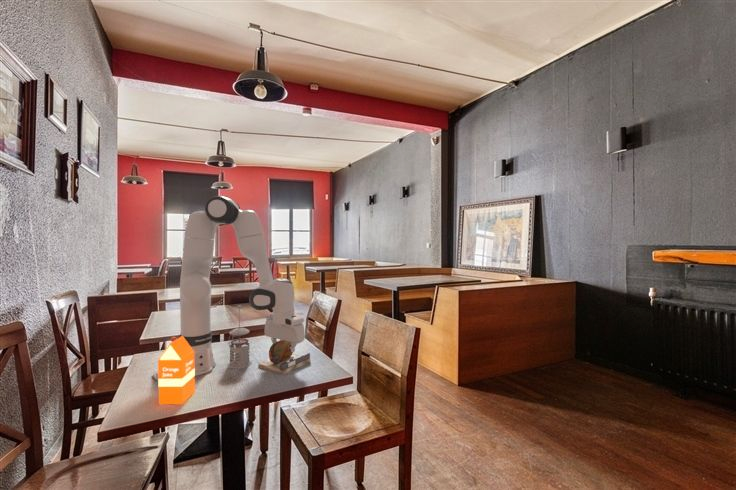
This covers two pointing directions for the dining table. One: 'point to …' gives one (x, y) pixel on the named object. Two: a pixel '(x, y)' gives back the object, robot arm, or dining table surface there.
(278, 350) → the oval plaque
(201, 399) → the dining table surface
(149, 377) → the dining table surface
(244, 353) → the french press
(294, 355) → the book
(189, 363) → the orange juice
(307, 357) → the price rail
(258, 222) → the robot arm
